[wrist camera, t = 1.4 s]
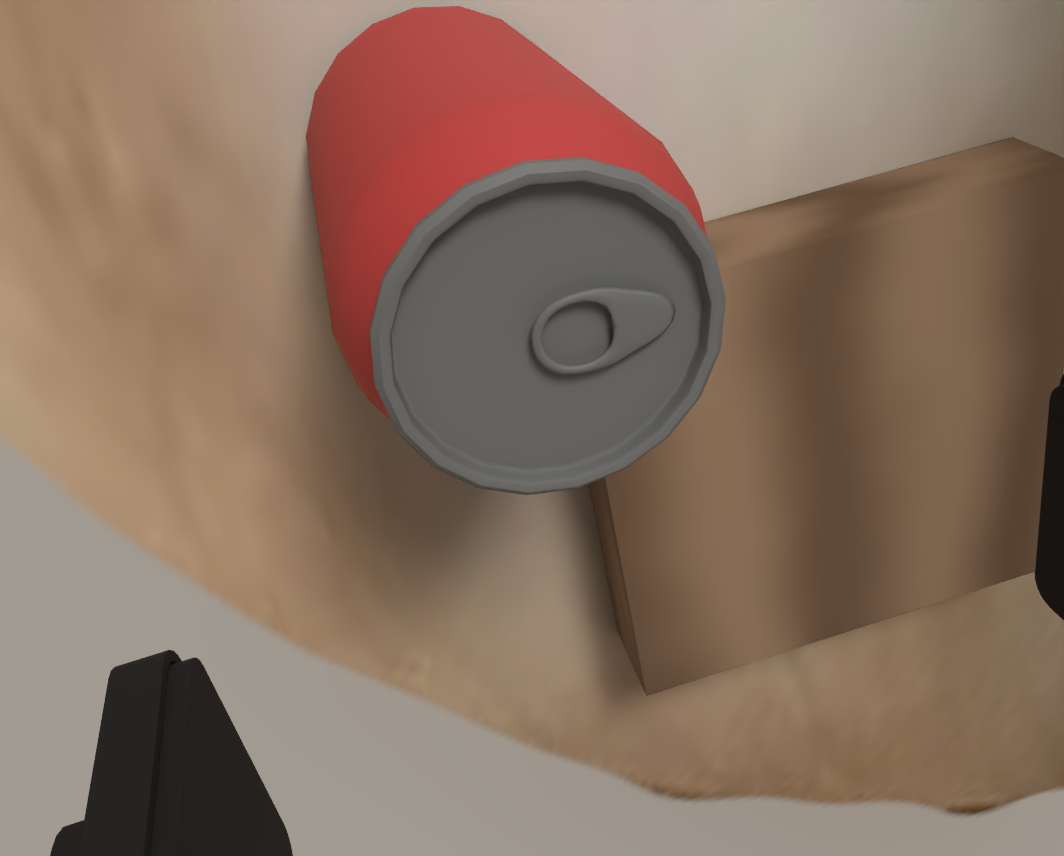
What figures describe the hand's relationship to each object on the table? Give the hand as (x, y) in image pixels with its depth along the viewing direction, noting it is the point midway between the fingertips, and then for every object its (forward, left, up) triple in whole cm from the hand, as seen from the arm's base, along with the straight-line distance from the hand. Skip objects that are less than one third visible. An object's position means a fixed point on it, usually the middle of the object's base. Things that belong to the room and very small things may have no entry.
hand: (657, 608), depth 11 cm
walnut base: (-9, +11, -18) cm, 23 cm away
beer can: (0, 0, -18) cm, 18 cm away
